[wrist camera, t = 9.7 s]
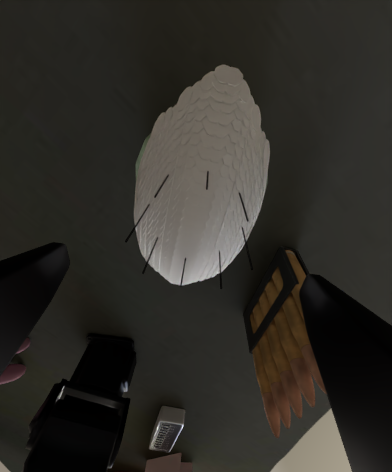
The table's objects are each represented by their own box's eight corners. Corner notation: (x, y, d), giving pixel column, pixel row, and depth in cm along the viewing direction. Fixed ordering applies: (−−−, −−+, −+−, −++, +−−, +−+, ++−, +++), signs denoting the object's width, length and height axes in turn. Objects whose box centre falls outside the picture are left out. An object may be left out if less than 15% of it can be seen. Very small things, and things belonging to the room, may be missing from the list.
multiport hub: (185, 409, 41) (184, 425, 39) (171, 438, 49) (169, 453, 47) (161, 405, 41) (159, 420, 39) (151, 435, 48) (148, 449, 46)
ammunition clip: (280, 245, 22) (338, 367, 12) (298, 249, 23) (370, 373, 12) (242, 315, 28) (261, 440, 17) (257, 318, 28) (283, 444, 18)
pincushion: (220, 287, 16) (223, 370, 11) (133, 268, 15) (96, 345, 10) (298, 87, 10) (386, 70, 5) (158, 47, 9) (99, -15, 4)
